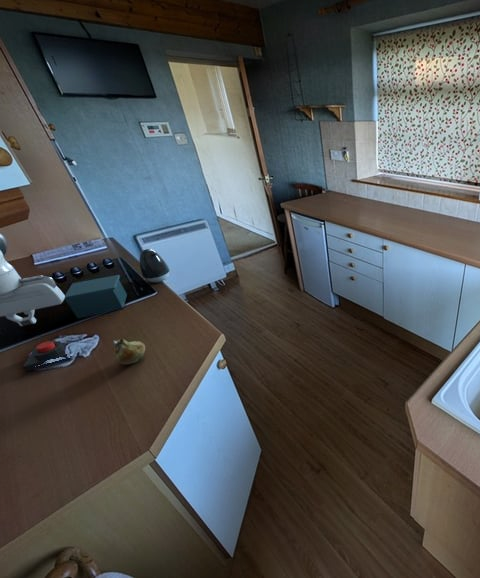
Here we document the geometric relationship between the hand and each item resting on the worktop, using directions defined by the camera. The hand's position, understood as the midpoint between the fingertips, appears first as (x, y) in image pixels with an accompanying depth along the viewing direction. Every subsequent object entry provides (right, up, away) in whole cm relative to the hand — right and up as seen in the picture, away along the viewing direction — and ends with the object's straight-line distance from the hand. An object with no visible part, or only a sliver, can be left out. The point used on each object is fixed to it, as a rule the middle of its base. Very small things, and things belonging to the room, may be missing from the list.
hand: (29, 323), depth 86 cm
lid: (-8, +11, +27) cm, 30 cm away
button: (0, -9, +5) cm, 10 cm away
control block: (0, -12, +7) cm, 14 cm away
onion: (+26, -13, +7) cm, 29 cm away
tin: (-8, +3, +31) cm, 32 cm away
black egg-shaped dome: (0, +14, +50) cm, 52 cm away
